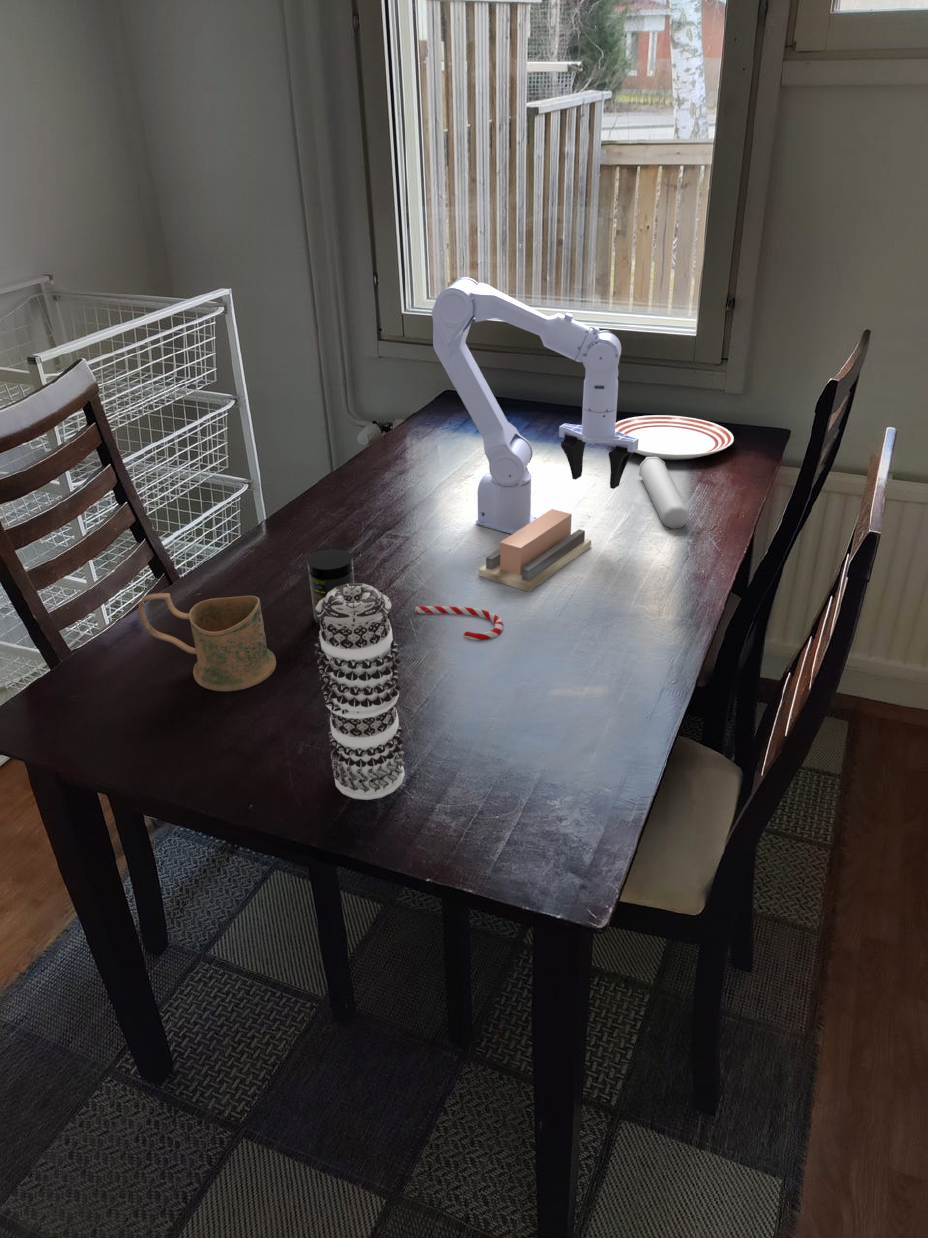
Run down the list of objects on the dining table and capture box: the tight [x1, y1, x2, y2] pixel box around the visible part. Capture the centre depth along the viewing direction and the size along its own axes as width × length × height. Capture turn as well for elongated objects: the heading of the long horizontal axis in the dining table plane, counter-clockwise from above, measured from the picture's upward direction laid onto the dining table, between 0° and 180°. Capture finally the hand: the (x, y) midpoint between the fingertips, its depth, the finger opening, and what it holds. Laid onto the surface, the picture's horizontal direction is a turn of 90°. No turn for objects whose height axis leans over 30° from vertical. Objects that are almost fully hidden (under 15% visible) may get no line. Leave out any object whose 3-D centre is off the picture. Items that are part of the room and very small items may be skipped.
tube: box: [638, 456, 690, 529], centre depth 177 cm, size 5×5×25 cm
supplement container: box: [306, 548, 355, 626], centre depth 140 cm, size 7×7×10 cm
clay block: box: [499, 508, 573, 575], centre depth 156 cm, size 4×16×5 cm, turn 144°
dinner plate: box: [615, 414, 735, 461], centre depth 204 cm, size 28×27×3 cm
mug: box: [138, 592, 277, 692], centre depth 128 cm, size 12×18×12 cm, turn 88°
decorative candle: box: [314, 582, 406, 801], centre depth 104 cm, size 9×9×25 cm
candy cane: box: [414, 605, 504, 641], centre depth 141 cm, size 8×1×15 cm
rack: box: [478, 528, 592, 592], centre depth 157 cm, size 10×20×3 cm, turn 143°
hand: (595, 482), depth 163 cm, fingers open, 7 cm apart
